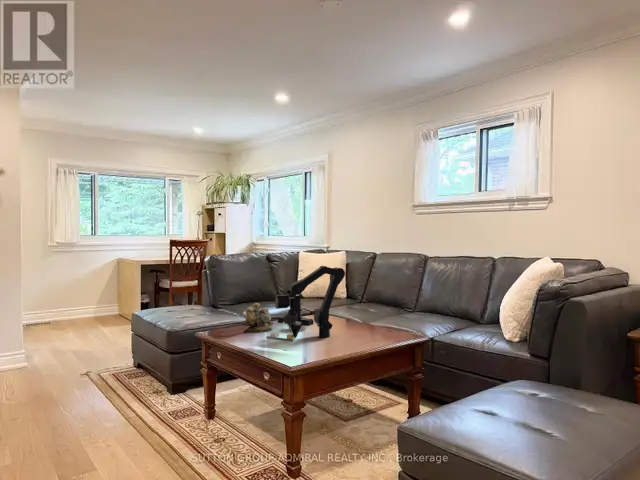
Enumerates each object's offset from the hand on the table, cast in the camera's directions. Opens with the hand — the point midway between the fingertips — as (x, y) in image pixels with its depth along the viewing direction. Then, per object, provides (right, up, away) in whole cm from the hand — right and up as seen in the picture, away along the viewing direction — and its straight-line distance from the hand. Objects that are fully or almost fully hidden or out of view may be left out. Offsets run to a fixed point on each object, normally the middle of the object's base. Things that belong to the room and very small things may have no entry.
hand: (295, 337), depth 232 cm
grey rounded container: (-1, -2, +25) cm, 25 cm away
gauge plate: (-6, -2, +4) cm, 8 cm away
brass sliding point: (-2, -1, +1) cm, 3 cm away
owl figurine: (-23, -2, +22) cm, 32 cm away
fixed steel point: (-11, -1, +6) cm, 13 cm away
